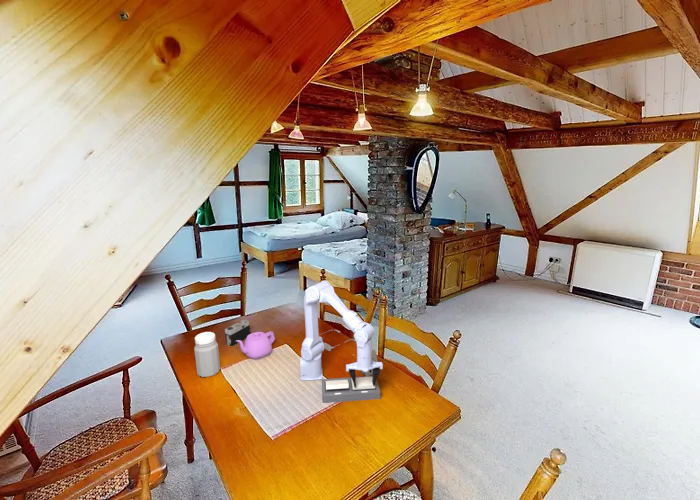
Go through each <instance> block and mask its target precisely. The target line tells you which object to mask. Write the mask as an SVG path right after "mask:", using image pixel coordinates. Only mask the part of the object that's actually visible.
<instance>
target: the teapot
mask: <svg viewBox="0 0 700 500" xmlns="http://www.w3.org/2000/svg"><path fill="white" fill-rule="evenodd" d="M275 340H276V338H275V334H274V332H273V331H272V330H270V331H268V332H263V331H256V332H252V333H250V334H249V335H248V336H247V337H246V339H245V340H244V341H241V340H236V341H237V342H239V343H238V344H239V346H240V347H239V348H240V351H241V352H242V353H244V354H245V356H247V357H248V358H249V359H251V360H259V359H262V358H265V357H267V356H269V355H270V354H271V352H272V351H273V347H272V344H273V343H274V342H275ZM243 342H244V343H243Z"/></svg>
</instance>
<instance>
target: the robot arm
mask: <svg viewBox="0 0 700 500" xmlns="http://www.w3.org/2000/svg"><path fill="white" fill-rule="evenodd" d="M304 293H305V294H304V297H303V309H304V312H303V313H304V326H305V338H304V340H303V341H302V344H301V348H300V355H301V356H300V357H299V363H300V364H299V367H300V369H299V373H300V381H303V382H304V381H319V380H322V379H324V378H323V368H322V354H323V352H324V351H325V347H324V343H323V337H322V336H321V335H320V333H319V318H318V317H319V314H318V302H319V303H323V304H324V303H328V304H329V305H330V306H331V307H333V309H335V310H336V312H338V313H339V315H341V317H342V322H343V323H344V324H345V325H346V326H347V327H348V328H349V329H350V331H352V332H353V339H355V340H356V341H355V342H356V362H352V363H349V364H345V371H346V372H348V373H349V376H350V377H351V378H352V380H353V383H354V387H356V377H357V374H356V371H361V370H362V371H363V372H368V370H370V369H372V370H373V374H372V376H373V377H372V383H373V386H375V383H376V380H377V379H378V378H379V375H380V374H381V370H383V369H384V368H383V367H384V366H383V365H384V364H383V362H382V361H378V362H373V361H371V357H372V350H373V349H372V345H373V344H372V343H373V341H372V340H373V339H372V337H373V336H374V335H375V329H374V327H373V326H372V324H371V323H368V322H365V321H363V320H362V318H361V317H360V316H359V315H358V313H357V312H355V311H354V310H351V309H348V307H347V306H346V305H345V304H344V302H343V300H341V299H340V298H339V296H338V295H337V294H336V292H335V289H334V286H332V285H331V284H330V282H329V281H328V280H322V281H319V282H317V283H316V284H313V285H312V286H311V285H310V286H309V287H307V288H306V289H305V291H304ZM377 381H378V380H377Z"/></svg>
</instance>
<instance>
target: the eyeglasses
mask: <svg viewBox="0 0 700 500" xmlns="http://www.w3.org/2000/svg"><path fill="white" fill-rule="evenodd" d="M330 331H332V329H329V330H328V331H326V333H327V332H330ZM335 331H336V332H337V333H341V331H340V330H338V329H335ZM322 334H324V332H323V333H321V335H322ZM351 340H352V341H354V342H356V340H355V338H350V339H348V340H346V341H345V343H346V342H349V341H351ZM323 344H324V350H326V351H328V352H331V351H332V349H334V348H335V347H336V346H339V344H338V345H335V346H331V345H330V344H328V343H327V342H323Z"/></svg>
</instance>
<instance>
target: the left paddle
mask: <svg viewBox="0 0 700 500" xmlns="http://www.w3.org/2000/svg"><path fill="white" fill-rule="evenodd" d="M342 388H349V383H348V380H334V381H326V390H327V389H342Z"/></svg>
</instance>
